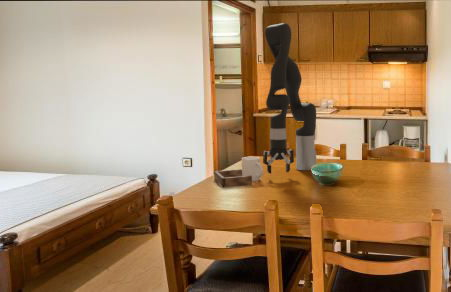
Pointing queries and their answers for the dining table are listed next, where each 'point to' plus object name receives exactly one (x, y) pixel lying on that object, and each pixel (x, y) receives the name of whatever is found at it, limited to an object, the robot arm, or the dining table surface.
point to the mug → (252, 168)
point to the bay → (232, 178)
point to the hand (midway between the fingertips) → (278, 172)
